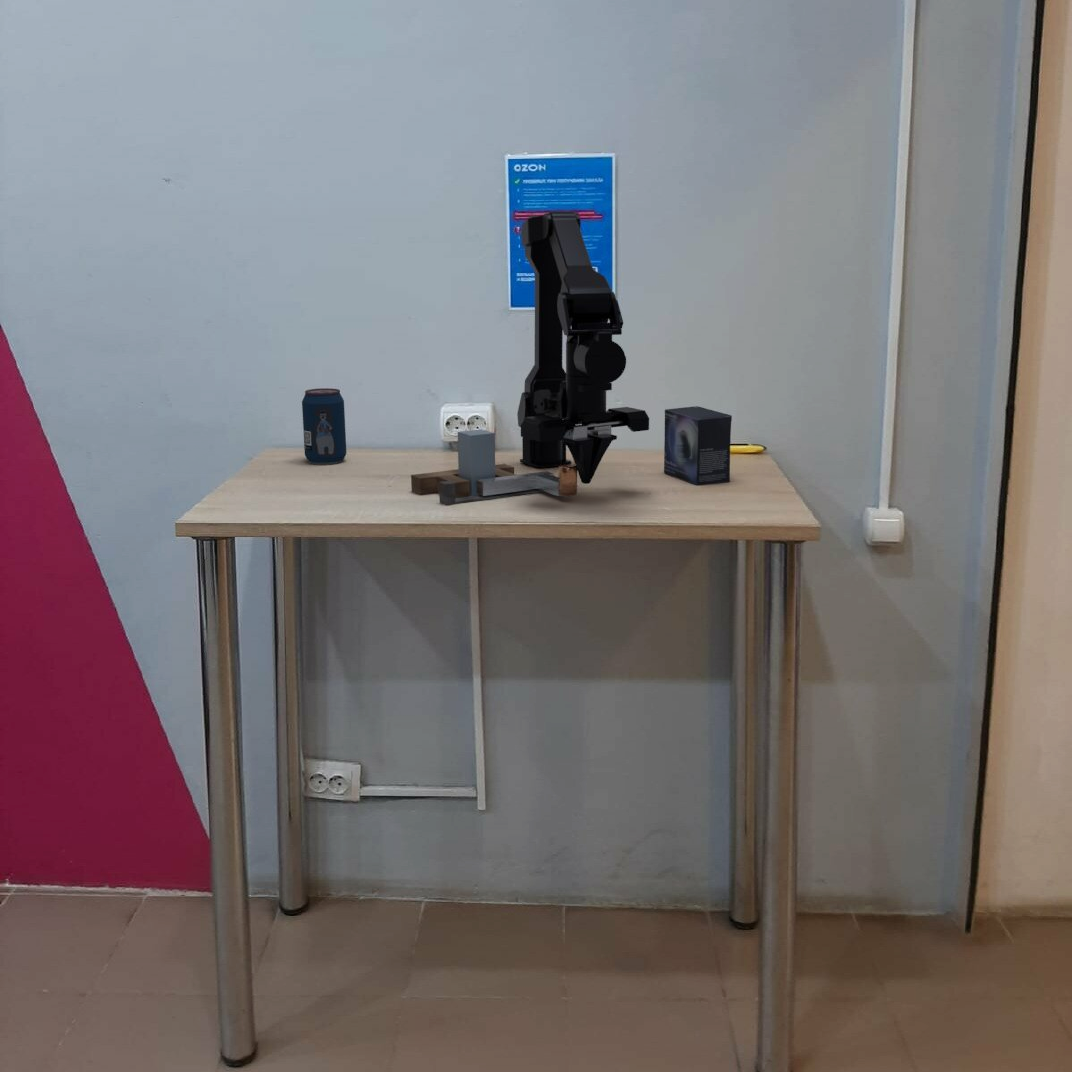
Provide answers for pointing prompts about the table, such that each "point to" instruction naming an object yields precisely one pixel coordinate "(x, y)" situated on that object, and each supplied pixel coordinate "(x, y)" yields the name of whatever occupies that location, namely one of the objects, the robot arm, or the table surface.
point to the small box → (697, 445)
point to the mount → (458, 485)
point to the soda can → (324, 426)
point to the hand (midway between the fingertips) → (585, 483)
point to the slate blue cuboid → (476, 456)
